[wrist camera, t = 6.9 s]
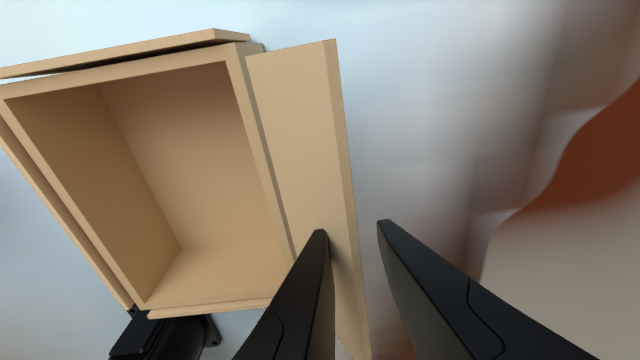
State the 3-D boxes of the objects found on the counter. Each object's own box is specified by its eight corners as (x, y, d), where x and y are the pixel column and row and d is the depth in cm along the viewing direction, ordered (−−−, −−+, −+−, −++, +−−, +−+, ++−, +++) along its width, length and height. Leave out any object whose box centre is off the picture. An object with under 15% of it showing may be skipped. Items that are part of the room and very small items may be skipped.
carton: (309, 241, 20) (305, 303, 15) (176, 257, 21) (132, 321, 16) (262, 32, 13) (229, 24, 9) (72, 67, 14) (-52, 77, 9)
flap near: (306, 295, 14) (311, 292, 14) (367, 378, 10) (373, 373, 10) (244, 56, 9) (252, 55, 9) (322, 40, 5) (335, 38, 5)
